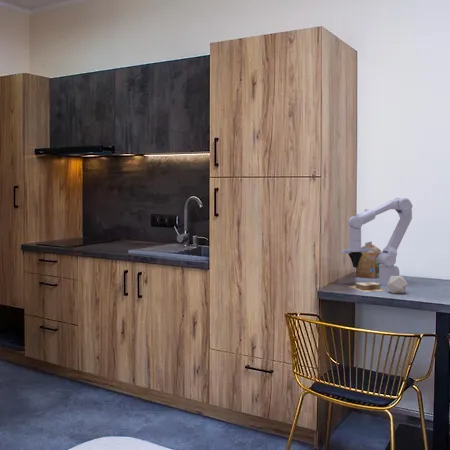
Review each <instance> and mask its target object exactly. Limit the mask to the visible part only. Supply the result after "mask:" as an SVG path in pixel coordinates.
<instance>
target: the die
mask: <svg viewBox="0 0 450 450" xmlns="http://www.w3.org/2000/svg"><path fill="white" fill-rule="evenodd" d="M408 284H409V283H408V282H407V281H406V279H405V278H404V277H403V276H402V275H399V276H390V279H389V281H388V284H387V285H386V287H387V288H388V290H389V291H390V293H391V294H398V293H405V291H406V289H407V286H408Z"/></svg>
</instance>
